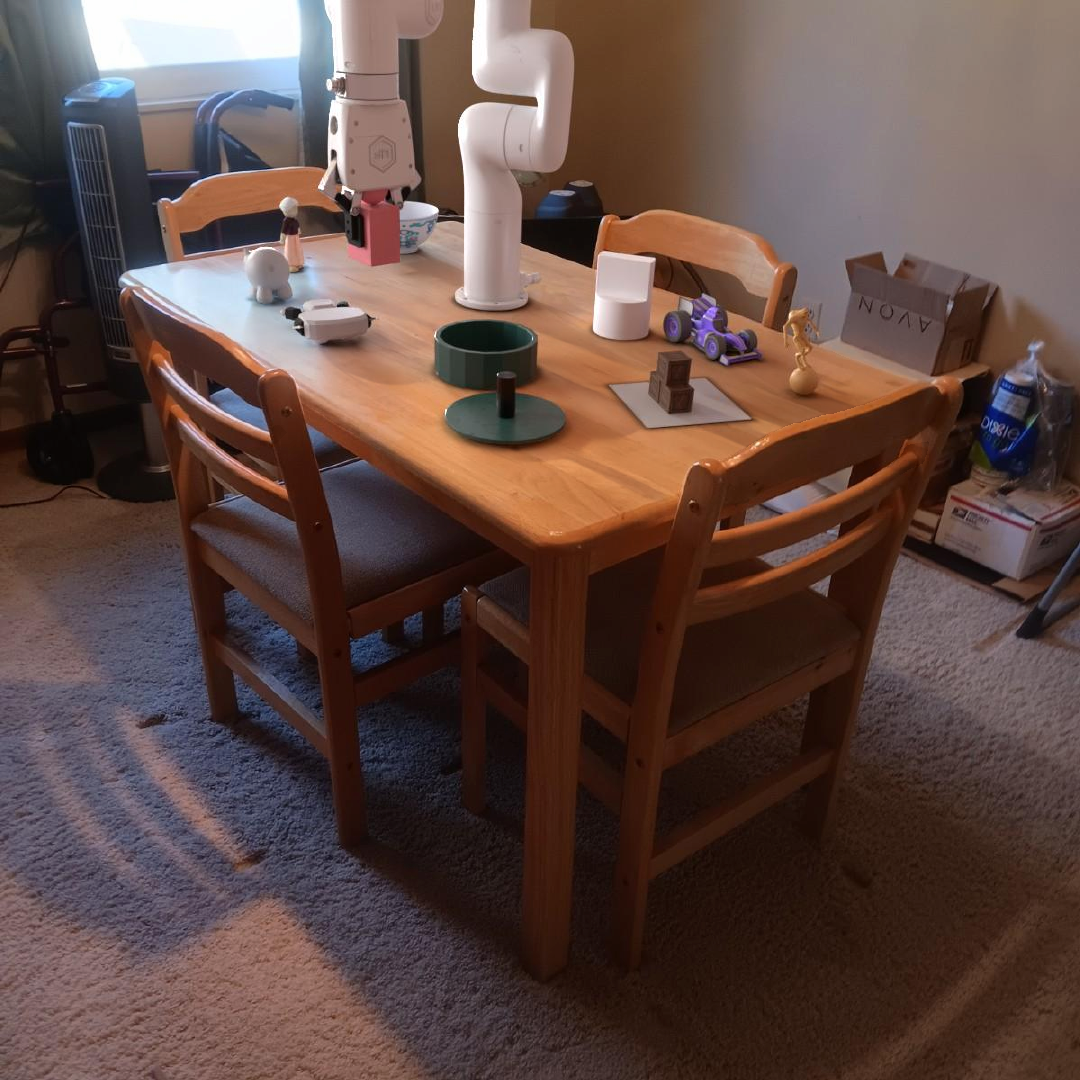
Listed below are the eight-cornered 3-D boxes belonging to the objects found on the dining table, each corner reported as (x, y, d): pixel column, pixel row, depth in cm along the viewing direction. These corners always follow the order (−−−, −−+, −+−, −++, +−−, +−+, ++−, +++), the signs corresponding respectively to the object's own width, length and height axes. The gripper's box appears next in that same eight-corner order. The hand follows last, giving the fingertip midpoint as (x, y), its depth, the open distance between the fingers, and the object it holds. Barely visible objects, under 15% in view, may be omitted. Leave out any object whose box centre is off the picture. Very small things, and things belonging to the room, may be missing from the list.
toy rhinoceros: (272, 283, 178) (267, 234, 173) (298, 301, 169) (294, 250, 165) (232, 288, 174) (226, 238, 170) (257, 307, 166) (252, 255, 161)
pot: (494, 346, 155) (495, 312, 152) (557, 376, 145) (559, 341, 142) (415, 365, 146) (414, 330, 144) (476, 398, 137) (476, 361, 134)
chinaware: (352, 255, 195) (350, 214, 191) (376, 237, 208) (374, 198, 204) (428, 262, 193) (427, 221, 189) (447, 243, 206) (446, 204, 202)
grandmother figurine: (300, 274, 183) (295, 202, 177) (279, 273, 183) (273, 201, 177) (309, 262, 190) (304, 193, 183) (289, 261, 190) (283, 192, 183)
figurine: (796, 405, 140) (811, 321, 134) (760, 392, 143) (774, 309, 137) (829, 391, 145) (845, 309, 139) (794, 378, 148) (808, 298, 142)
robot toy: (277, 328, 160) (302, 353, 148) (274, 300, 158) (299, 322, 146) (351, 320, 165) (382, 343, 153) (349, 292, 163) (380, 313, 151)
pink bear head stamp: (377, 252, 134) (374, 161, 128) (400, 262, 130) (398, 168, 124) (346, 257, 131) (342, 164, 125) (369, 267, 127) (366, 172, 121)
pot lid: (514, 390, 140) (516, 345, 136) (590, 429, 130) (594, 381, 126) (421, 416, 131) (420, 368, 128) (494, 459, 121) (495, 409, 117)
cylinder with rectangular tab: (585, 334, 161) (590, 259, 155) (602, 318, 168) (607, 246, 162) (640, 343, 159) (647, 267, 153) (654, 326, 166) (661, 253, 160)
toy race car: (719, 368, 151) (725, 326, 147) (661, 337, 162) (665, 297, 158) (768, 359, 155) (775, 318, 152) (707, 329, 166) (712, 290, 163)
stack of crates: (751, 419, 135) (759, 371, 131) (647, 428, 131) (652, 378, 127) (704, 378, 147) (710, 332, 143) (608, 385, 143) (612, 338, 139)
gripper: (320, 95, 113) (330, 258, 122) (443, 89, 123) (444, 241, 132) (288, 87, 118) (300, 244, 127) (409, 82, 127) (412, 229, 137)
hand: (373, 241), depth 129 cm, fingers closed on pink bear head stamp, 4 cm apart
